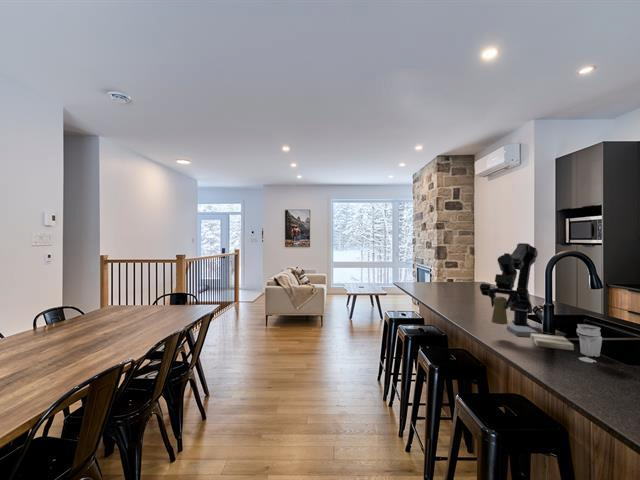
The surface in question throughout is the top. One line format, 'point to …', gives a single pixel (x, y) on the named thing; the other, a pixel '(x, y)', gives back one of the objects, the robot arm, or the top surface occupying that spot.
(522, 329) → the blue grey block
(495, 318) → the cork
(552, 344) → the maple slab
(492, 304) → the robot arm
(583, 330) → the wineglass
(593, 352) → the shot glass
